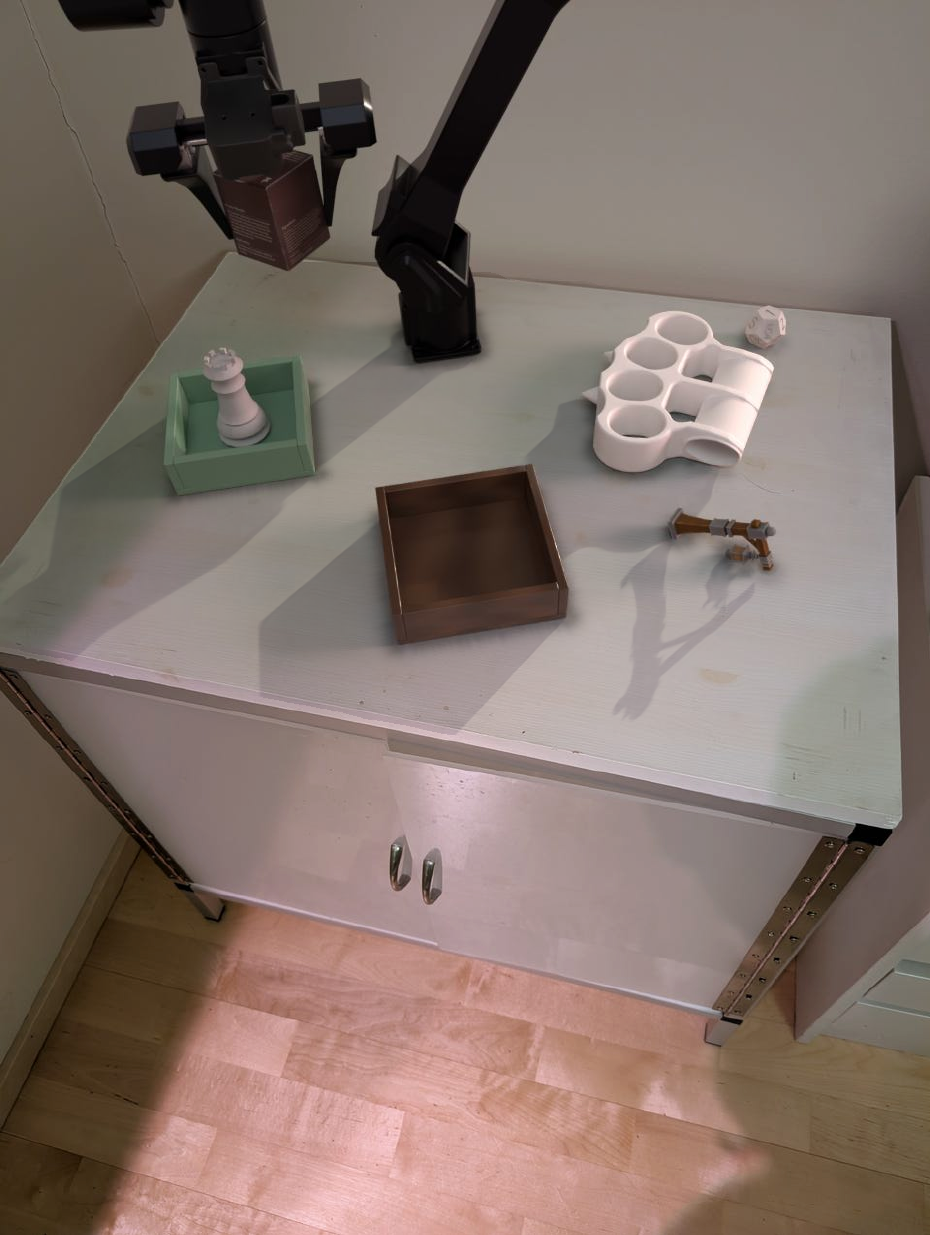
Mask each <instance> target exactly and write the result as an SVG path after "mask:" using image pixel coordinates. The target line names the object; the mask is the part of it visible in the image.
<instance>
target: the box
mask: <svg viewBox="0 0 930 1235" xmlns="http://www.w3.org/2000/svg"><path fill="white" fill-rule="evenodd" d="M283 158H284V166H283V168H282V170H281V171H280V172H279V173H277V174H275V175H270V176H265V175H263V174H260V175H252V176H245V177H240V179H238V180H226V179H224V178H222V177H221V176H220V174H219V172H218V169H217V168H216V169H215V170H213V173H212V174H213V177H214V180H215V183H216V185H217V189H218V193H219V195H220V198H221V201H222V204H223V208H224V211H225V214H226V217H227V220H228V223H229V226H230V229H231V232H232V235H233V242H234V246H235V247H236V251H237V255H239V256H242V257H245V258H248V259H250V260H253V261H257V262H260V263H262V264H265V265H268V266H271V267H274V268H277V269H280V270H282V271H285V272H287V273H288V272H291V271H292V270H293V269H294V268H296V267H297V266H298V265H299V264H300V263H302V262H303V261H304V260H306V259H307V258H308V257H309V256H311V254H313V253H314V252H316V251H317V249H319V248H320V247H322V246H323V245H324V244H326V243H327V242H328V241H329V240H330V239H331V233H330V227H327V223H326V218H325V214H324V203H323V194H322V191H321V186H320V182H319V177H318V173H317V170H316V164H315V159H314V155H313V154H311V153H307V152H305V151H304V152H303V151H301V150H296V149H293V152H289V153H283Z"/></svg>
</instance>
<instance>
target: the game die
mask: <svg viewBox="0 0 930 1235" xmlns="http://www.w3.org/2000/svg"><path fill="white" fill-rule="evenodd" d="M745 321H746V322H745V336H746V338H747V340H748V342H749V343H750V344H751V345H753V346H756V347H758V348H759V349H762V350H763V349H766V348H767V347H770V346H772V345H775V344H776V343H777V342H778V341H779V340H781V339H782V338H783V337H785V336H786V329H787V328H786V327H787V320H786V317H785V315H784V312H783V310H782V309H779V308H776V307H774V306H772V305H770V304H768V305H765V306H763V307H761V308H759V309H756V310H755V311H754V312H753V313H752V314H750V315H749V316H748V317H747V318H746V319H745Z"/></svg>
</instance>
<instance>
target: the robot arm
mask: <svg viewBox="0 0 930 1235" xmlns="http://www.w3.org/2000/svg"><path fill="white" fill-rule="evenodd" d="M177 1H178V5H179V8H180V11H181V15H182V19H183V22H184V25H185V28H186V33H187V36H188V40H189V43H190V46H191V49H192V54H193V57H194V61H195V63H196V67H197V73H198V76H199V80H200V95H199V96H200V97H199V98H200V102H199V103H200V104H199V105H200V107H201V111H202V114H203V115H201V116H194V117H193V116H192V117H187V115H186V112H185V109H184V107H183V105H182V104H181V103H180V101H169V102H163V103H162V102H161V103H154V104H146V105H139V106H138V105H137V106H135V107H134V109H133V112H132V114H131V115H130V120H129V124H128V129H127V134H126V138H125V144H126V149H127V153H128V155H129V159H130V161H131V164H132V167H133V169H134V172H135V174H137V175H139V176H141V177H147V176H155V175H159V177H160V179H161V180H162V181H164V182H165V183H177V184H179V185H181V186H183V187H184V188H186V189H187V190H188V191H189V192H190V193H191V194H192V195H193V196H194V197H195V198H196V199H197V200H198V201H199V203H200V204H201V205H202V206H203V207H204V209H205V210H206V212H207V213H208V215H209V216H210V217H211V219H212V220H213V221H214V222H215V224H216V225H217V226H218V228H219V229H220V231H221V232H222V233H223V234H224V236H225V237H226V238H227V240H229V241H231V240H232V241H234V239H233V235H232V232H231V229H230V226H229V223H228V220H227V217H226V214H225V211H224V208H223V204H222V201H221V198H220V195H219V193H218V189H217V185H216V183H215V180H214V177H213V174H212V173H213V172H214V169H213V166H212V164H211V161H210V158H209V156H208V153H207V150H206V147H205V146H208V148H209V151H210V154H211V156H212V159H213V161H214V164H215V166H216V170H217V169H218V172H219V174H220V176H221V177H222V178H224V179H226V180H238V179H240V177H245V176H252V175H260V174H263V175H265V176H270V175H275V174H277V173H279V172H280V171H281V170H282V168H283V166H284V158H283V153H289V152H293V150H294V148H296V147H302V146H306V144H307V141H306V133H314V132H318V142H319V143H318V144H319V159H320V160H319V161H320V170H321V171H320V172H321V173H320V174H321V186H322V187H321V188H322V200H323V205H324V214H325V218H326V223H327V227H328V228H331V227H332V226H333V221H334V214H335V213H334V212H335V205H336V197H337V196H336V195H337V188H338V182H339V179H340V174H341V172H342V167H343V166H344V164H345V161H346V160H351V159H354V158H356V157H357V156H358V154H359V153H358V151H359V150H358V149H364V148H371V147H372V146H374V145H376V144H377V143H378V140H377V132H376V125H375V119H374V118H375V116H374V110H373V103H372V98H371V89H370V85H368V83H367V82H365V81H364V79H363V78H361V77H359V78H350V79H342V80H334V81H325V82H318V83H317V84H318V85H317V86H318V87H317V88H318V101H309V102H303V103H300V100H299V97H298V94H297V92H296V89H294V88H292V89H291V88H290V89H284V88H283V83H282V79H281V74H280V70H279V65H278V61H277V57H276V52H275V48H274V44H273V43H274V42H273V39H272V34H271V29H270V25H269V24H270V23H269V19H268V16H267V12H266V7H265V3H264V0H177ZM57 2H58V3H59V6H60V9H61V10H62V12H63V14H64V15H65V17H66V19H67V20H68V22H69V23H70V24H71V25H72V27H73V28H75V29H76V30H77V31H79V32H82V33H85V32H86V33H89V32H103V31H119V30H120V31H121V30H136V29H155V28H160V27H162V25H163V24H164V21H165V17H166V10H170V9H172V8H173V7H174V4H175V0H57ZM569 2H571V0H495V1H494V3H493V5H492V7H491V10H490V11H489V14H488V16H487V18H486V20H485V22H484V25H483V26H482V29H481V30H480V32H479V34H478V37H477V38H476V41H475V43H474V45H473V47H472V49H471V52H470V53H469V56H468V58H467V60H466V62H465V64H464V66H463V69H462V70H461V73H460V75H459V77H458V79H457V82H455V83H456V84H455V85H454V87H453V90H452V92H451V94H450V96H449V98H448V100H447V102H446V104H445V106H444V109H443V111H442V113H441V115H440V117H439V119H438V122H437V123H436V126H435V127H434V130H433V132H432V134H431V136H430V138H429V140H428V143H427V145H426V147H425V148H424V149H423V151H422V152H421V153H420V154H419V155H418V156H417V157H416V158H415V159H414V160H412V162H411V163H410V162H409V161H407V160H406V159H404V158H403V157H402V156H401V155H400V154H396V155H395V159H394V162H393V166H392V170H391V174H390V176H389V179H388V181H387V182H386V184H385V186H383V187H382V188H381V189H379V190H378V193H377V199H376V204H375V208H374V209H375V211H374V216H373V221H372V227H371V233H370V234H371V237H376V240H375V245H374V260H375V261H376V263H377V265H378V268H379V269H380V270H381V272H382V273H383V274H384V275H385V276H386V277H387V278H389V279H390V280H392V281H393V282H394V283H395V284H396V286H397V288H398V290H399V292H398V293H397V298H398V305H399V313H400V314H399V315H400V321H401V327H402V328H401V329H402V334H403V335H402V336H403V338H404V345H405V346H407V347H410V352H411V357H412V361H413V362H414V363H425V362H431V361H439V360H445V359H452V358H460V357H466V356H467V357H468V356H474V355H479V354H481V353H482V346H481V345H482V344H481V341H480V337H479V333H478V319H477V301H476V300H477V298H476V283H475V279H474V277H473V273H472V268H471V266H470V258H471V241H472V240H471V238H472V234H471V231H470V230H469V229H467V228H466V227H465V226H463V225H462V224H461V223H460V222H459V221H458V220H457V215H458V211H459V207H460V203H461V198H462V196H463V192H464V190H465V188H466V186H467V184H468V183H469V180H470V179H471V177H472V175H473V173H474V171H475V169H476V167H477V165H478V164H479V161H480V160H481V158H482V156H483V154H484V152H485V150H486V148H487V147H488V145H489V143H490V141H491V139H492V137H493V136H494V133H495V131H496V129H497V128H498V126H499V124H500V122H501V120H502V118H503V117H504V114H505V112H506V111H507V109H508V107H509V105H510V103H511V101H512V100H513V97H514V96H515V94H516V93H517V90H518V88H519V86H520V85H521V82H522V80H523V78H524V77H525V76H526V74H527V71H528V69H529V68H530V66H531V64H532V62H533V60H534V58H535V56H536V54H537V52H538V50H539V49H540V46H541V45H542V43H543V41H544V39H545V38H546V36H547V34H548V32H549V30H550V28H551V26H552V25H553V22H554V21H555V19H556V17H557V16H558V14H559V13H560V12H561V11H562V10H563V9H564V8H565V6H566V5H568V3H569Z"/></svg>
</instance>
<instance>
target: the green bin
mask: <svg viewBox="0 0 930 1235" xmlns="http://www.w3.org/2000/svg"><path fill="white" fill-rule="evenodd" d="M305 371H306V370H305V367H304V364H303V360H302V356H301V354H296V355H290V356H283V357H282V356H281V357H274V358H267V359H261V360H253V361H247V362H243V368H242V370H241V372H240V373H241V374H242V375H244V377H245V384H244V385H245V388H246V390H247V391H248V393H249V395H250V397H251V399H252V400H253V401H255V402H256V403H257V404H258V405H259V406H260V407H262V408H263V410H264V411H265V414H266V416H267V418H268V420H269V423H270V428H269V432H268V434H267V435H266V437H265V438H264V439H263V441H261V442H260V443H258V444H257V445H250V446H244V447H237V448H236V447H232V446H230V445H227V444H226V443H225V442H223V441H222V440H221V438H220V435H219V430H218V428H217V419H218V413H219V409H220V407H219V402H218V396H217V393H216V392H215V391H214V390H213V389H212V387H211V383H212V380H210V379H208V378H207V377H206V376H204V373H203V368H198V369H191V370H184V371H179V372H170V373H169V381H168V382H169V384H168V394H167V395H168V396H167V409H166V423H165V434H164V436H165V437H164V449H163V450H164V451H163V452H164V453H163V465H162V466H163V467H164V469H165V472H166V474H167V477H168V478H169V480H170V482H171V484H172V486H173V488H174V490H175V493H176V495H177V496H185V495H190V494H191V495H192V494H198V493H205V492H213V491H217V490H219V491H220V490H227V489H231V488H237V487H239V488H240V487H245V486H250V485H257V484H264V483H265V484H266V483H272V482H278V481H285V480H291V479H298V478H299V479H300V478H304V477H313V476H316V466H315V465H316V464H315V456H314V455H315V453H314V439H313V425H312V413H311V412H312V411H311V401H310V400H311V399H310V388H309V387H310V386H309V383H308V378H307V375H306V372H305Z"/></svg>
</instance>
